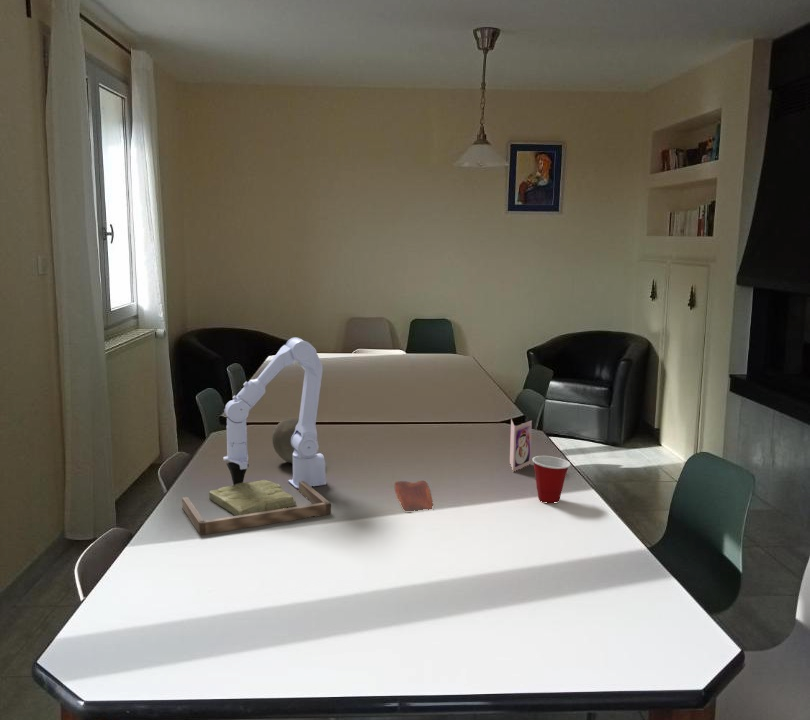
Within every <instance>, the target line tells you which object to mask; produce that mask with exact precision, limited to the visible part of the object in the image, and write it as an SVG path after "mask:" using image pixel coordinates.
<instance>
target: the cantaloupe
mask: <svg viewBox="0 0 810 720" xmlns="http://www.w3.org/2000/svg"><path fill="white" fill-rule="evenodd" d="M298 422H299V418H285V419H283V420H280V422H278V424H276V425H275V427H274V429H273V432H272V435H271V442H272V446H273V447H272V448H273V449H274V451H275V452H276V455H278V456H279V458H281V459H282V460H283V461H286V462H287V463H289V464H292V465H293V452H294V448H293V447H292V445H291V437H292V435H293V434H294V432H295V428H296V425H297V424H298Z"/></svg>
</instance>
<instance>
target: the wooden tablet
mask: <svg viewBox="0 0 810 720" xmlns="http://www.w3.org/2000/svg"><path fill="white" fill-rule="evenodd" d="M394 491H395V494H397V495H396V497H397V500H398V499H399V500H398V502H399V501H400V502H401V505H402V507H403V509H404V510H405V511H414V510H415V511H418V510H423V509H428V510H429V509H432V506H433V505H434V503H432V502H433V498H432V494H431V490H430V488H429V486H428V482H427V481H426V480H418V481H416V482H410V481H406V480H405V481H404V480H402V481H401V480H400V481H395V482H394ZM401 505H400V506H401ZM402 507H401V508H402ZM403 509H402V510H403Z"/></svg>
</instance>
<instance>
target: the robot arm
mask: <svg viewBox="0 0 810 720" xmlns="http://www.w3.org/2000/svg"><path fill="white" fill-rule="evenodd" d="M295 361H296V362H297V363H298V364H299V366H300V367H301V368H302V369H303V370H304V376H303V383H302V393H301V398H300V399H301V400H300V407H299V415H298V416H299V417H298V419H299V422H298V424H297V425H296V428H295V432H294V434H293V435H292V437H291V445H292V447H293V448H294V452H293V464H292V479H288V482H289V484H291V485H292V486H293V487H294V488H295V489H298V490H299V481H304V482H306V483H307V484H308V485H309V486H311V487H312V486H313V487H318V486H325V485H327V482H326V461H325V459H326V458H325V457H324V455H323V454H322V453H318V451H319V449H320V448H319V442H318V431H317V427H316V423H317V416H318V407H319V402H320V401H319V400H320V392H321V384H322V377H323V372H324V371H323V369H324V367H323V366H324V365H323V364H322V362H321V360H320V357H319V355H318V352H317V349H316V348H315V347H314V346H313V345H312V344H311V343H310V342H309V341H305V340H303V339H302V338H301V337H291V338H290V339H288V340H287V341H286V343H285V344H283V345H282V346H281V347H280V348H279V349H278V351H277V353H276V354H275V355H274V356H273V357H272V359H271V360H270V361H269V363H268V364H267V365H266V366H265V367H264V369H263V370H262V372H261V373H260V374H259V375H258V377H257V378H253V379H249V381H245V382H244V383H243V384H242V385H243V388H241V389H240V391H239V392H238V393H237V394H236V395H233V396H232V400H229V401H228V402H227V403H226V404H225V406H224V407H225V408H224V409H223V412H224V415H225V416H226V453H227V454H226V456H223V457H222V459H223V461H224V462H225V461H226V462H227V461H228V462H227V463H226V467H228V470H229V473H230V476H231V480H232V484H233V485H232V486H234V485H236V484H238V483H244V480H245V475H246V472H247V470H248V468H249V466H250V464H249V463H248V460H249V455H248V430H247V429H248V427H247V418H248V417H249V414H250V410H251V409H253V407H254V406H255V405H256V404H257V403H258V401H260V399H261V398H262V397H263V396H264V395H265V394H266V386H267V385H268V384H269V383H270V382H271V381H272V380H273V379H274V378H275V377H276V375H278V373H280V371H281V370H283V368H285V367H289V366H294V365H296V363H295ZM313 487H312V488H313Z"/></svg>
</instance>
